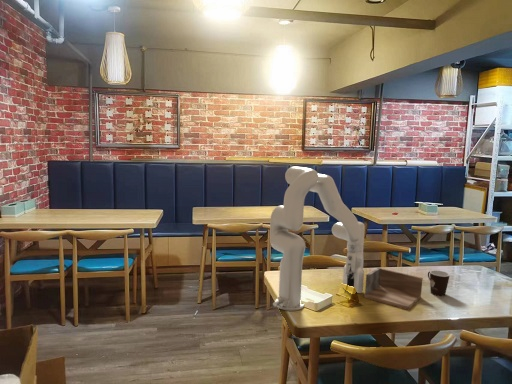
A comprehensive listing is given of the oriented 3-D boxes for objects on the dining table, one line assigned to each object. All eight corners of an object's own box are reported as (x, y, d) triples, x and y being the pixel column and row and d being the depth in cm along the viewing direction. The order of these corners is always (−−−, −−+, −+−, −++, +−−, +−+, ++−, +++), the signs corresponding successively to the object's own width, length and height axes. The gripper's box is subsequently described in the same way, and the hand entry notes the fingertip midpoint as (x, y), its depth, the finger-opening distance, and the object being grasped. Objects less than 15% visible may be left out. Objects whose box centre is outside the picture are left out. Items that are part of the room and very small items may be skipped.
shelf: (408, 309, 172) (409, 286, 171) (363, 297, 184) (365, 275, 183) (420, 297, 186) (422, 275, 185) (379, 286, 198) (380, 266, 197)
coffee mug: (449, 298, 186) (451, 277, 185) (430, 296, 188) (432, 275, 187) (443, 288, 198) (445, 269, 196) (425, 287, 199) (426, 267, 198)
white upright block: (341, 287, 196) (342, 263, 194) (346, 285, 198) (348, 261, 197) (358, 294, 188) (360, 268, 186) (364, 292, 191) (365, 267, 189)
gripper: (354, 253, 181) (352, 291, 184) (369, 245, 195) (367, 281, 197) (339, 249, 186) (337, 287, 188) (355, 242, 199) (353, 278, 202)
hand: (352, 284), depth 193 cm, fingers closed on white upright block, 5 cm apart
